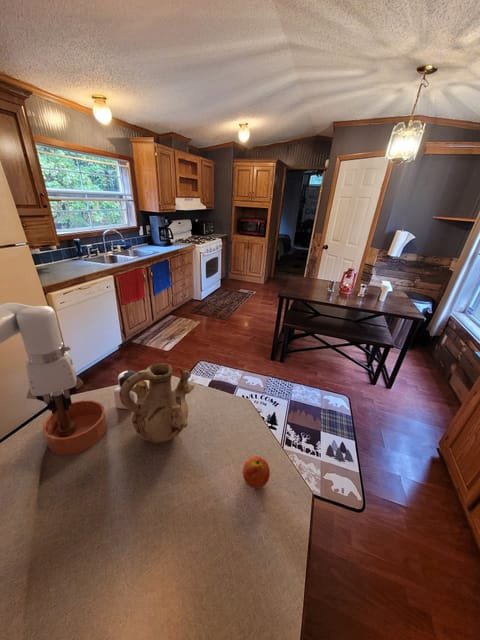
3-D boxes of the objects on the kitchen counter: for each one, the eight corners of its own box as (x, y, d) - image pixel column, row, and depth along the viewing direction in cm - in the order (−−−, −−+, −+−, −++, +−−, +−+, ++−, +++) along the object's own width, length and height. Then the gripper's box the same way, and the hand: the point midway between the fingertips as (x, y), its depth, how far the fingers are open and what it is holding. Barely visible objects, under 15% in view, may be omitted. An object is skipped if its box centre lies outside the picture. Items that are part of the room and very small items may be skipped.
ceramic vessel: (187, 460, 71) (187, 387, 61) (117, 460, 69) (105, 386, 59) (194, 412, 88) (194, 349, 78) (137, 412, 86) (130, 348, 76)
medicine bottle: (145, 396, 93) (142, 369, 88) (135, 410, 86) (132, 381, 82) (126, 394, 93) (122, 367, 89) (115, 408, 87) (111, 379, 82)
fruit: (250, 464, 71) (252, 443, 68) (272, 477, 68) (276, 456, 65) (236, 484, 66) (239, 463, 62) (260, 500, 62) (264, 478, 59)
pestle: (58, 439, 73) (47, 400, 68) (58, 428, 76) (47, 391, 71) (76, 433, 75) (66, 395, 70) (75, 423, 79) (66, 386, 73)
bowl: (45, 464, 67) (40, 448, 64) (49, 424, 79) (45, 409, 76) (109, 442, 74) (106, 426, 72) (104, 408, 86) (101, 394, 84)
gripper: (82, 341, 72) (92, 393, 80) (8, 353, 64) (27, 409, 71) (83, 353, 67) (94, 408, 74) (2, 368, 58) (23, 428, 66)
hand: (61, 408), depth 72 cm, fingers closed on pestle, 2 cm apart
